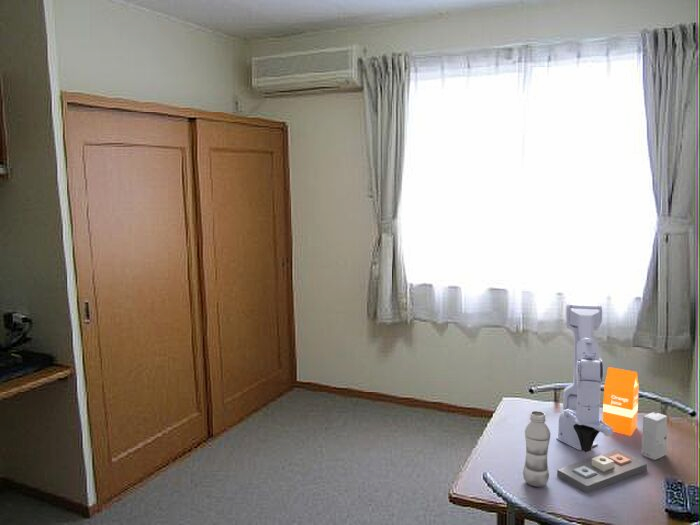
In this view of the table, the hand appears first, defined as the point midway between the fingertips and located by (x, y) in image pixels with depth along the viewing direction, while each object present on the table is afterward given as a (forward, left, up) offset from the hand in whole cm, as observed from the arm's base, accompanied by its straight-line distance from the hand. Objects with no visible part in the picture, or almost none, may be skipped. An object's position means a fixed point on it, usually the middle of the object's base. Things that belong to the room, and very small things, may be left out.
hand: (586, 450), depth 157 cm
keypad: (0, +7, -8) cm, 11 cm away
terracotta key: (0, +14, -8) cm, 16 cm away
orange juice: (-17, +36, -9) cm, 41 cm away
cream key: (0, +7, -6) cm, 9 cm away
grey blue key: (0, 0, -8) cm, 8 cm away
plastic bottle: (-5, -13, -9) cm, 16 cm away
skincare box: (0, +29, -9) cm, 30 cm away
